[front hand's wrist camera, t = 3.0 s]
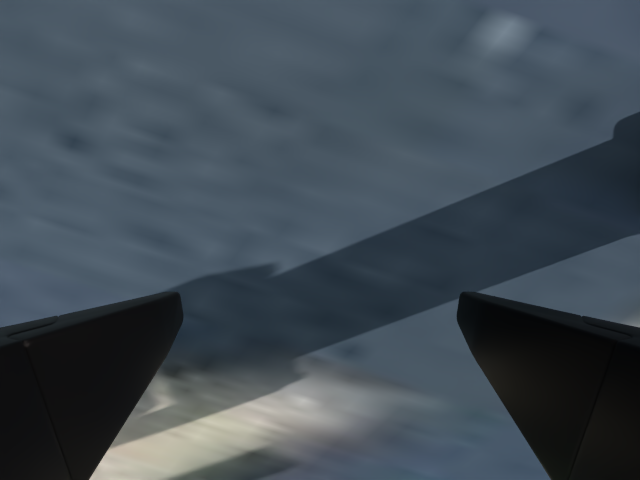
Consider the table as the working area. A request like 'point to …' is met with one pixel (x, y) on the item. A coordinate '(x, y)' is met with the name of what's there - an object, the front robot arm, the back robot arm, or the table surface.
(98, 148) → the table surface
